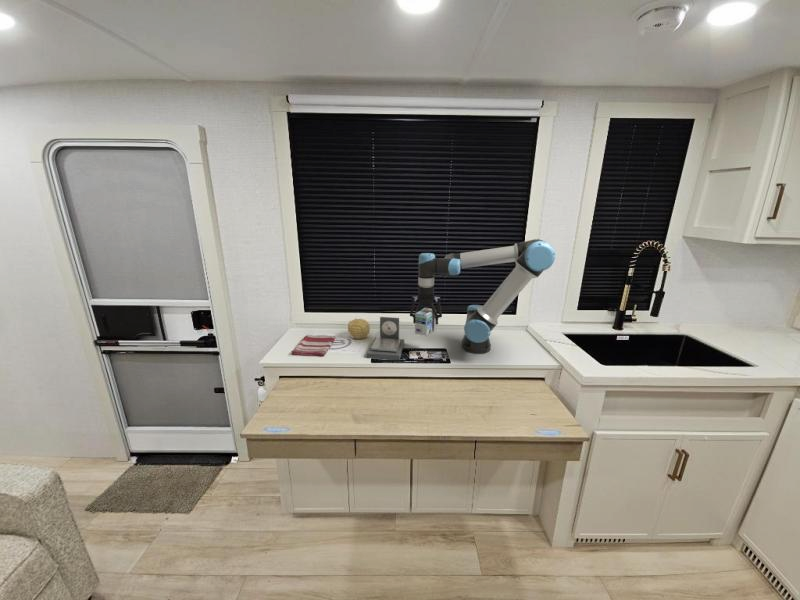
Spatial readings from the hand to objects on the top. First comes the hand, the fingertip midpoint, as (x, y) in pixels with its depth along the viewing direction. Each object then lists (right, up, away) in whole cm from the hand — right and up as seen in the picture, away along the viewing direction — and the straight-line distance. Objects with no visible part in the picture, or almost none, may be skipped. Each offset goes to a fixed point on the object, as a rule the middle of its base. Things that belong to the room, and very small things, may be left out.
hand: (425, 329), depth 163 cm
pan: (-20, -9, +3) cm, 22 cm away
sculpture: (-36, -6, +21) cm, 42 cm away
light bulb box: (0, -1, 0) cm, 1 cm away
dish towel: (-58, -10, +9) cm, 59 cm away
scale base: (-20, -11, +5) cm, 23 cm away
